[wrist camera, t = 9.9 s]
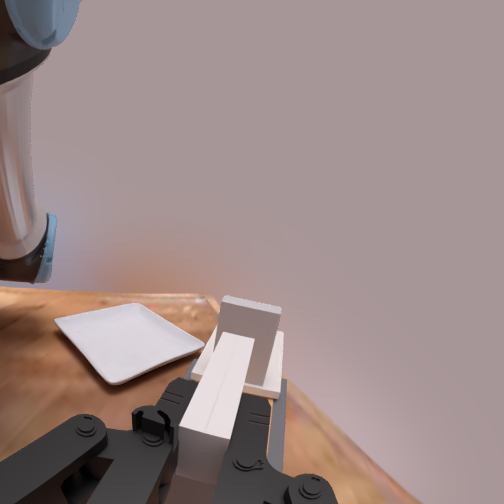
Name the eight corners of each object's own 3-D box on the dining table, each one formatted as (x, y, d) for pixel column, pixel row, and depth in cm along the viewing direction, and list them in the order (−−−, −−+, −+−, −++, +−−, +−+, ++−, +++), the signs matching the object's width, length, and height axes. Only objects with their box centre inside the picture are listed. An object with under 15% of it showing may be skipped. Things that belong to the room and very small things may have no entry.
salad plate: (206, 357, 54) (208, 342, 54) (112, 400, 37) (111, 382, 36) (136, 314, 65) (137, 300, 64) (53, 334, 47) (51, 318, 46)
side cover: (219, 324, 48) (230, 263, 46) (282, 337, 47) (297, 277, 45) (190, 379, 32) (200, 298, 30) (278, 399, 31) (300, 320, 29)
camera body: (192, 399, 41) (199, 349, 39) (272, 417, 40) (287, 368, 38) (142, 503, 21) (136, 455, 20) (258, 532, 20) (281, 491, 19)
